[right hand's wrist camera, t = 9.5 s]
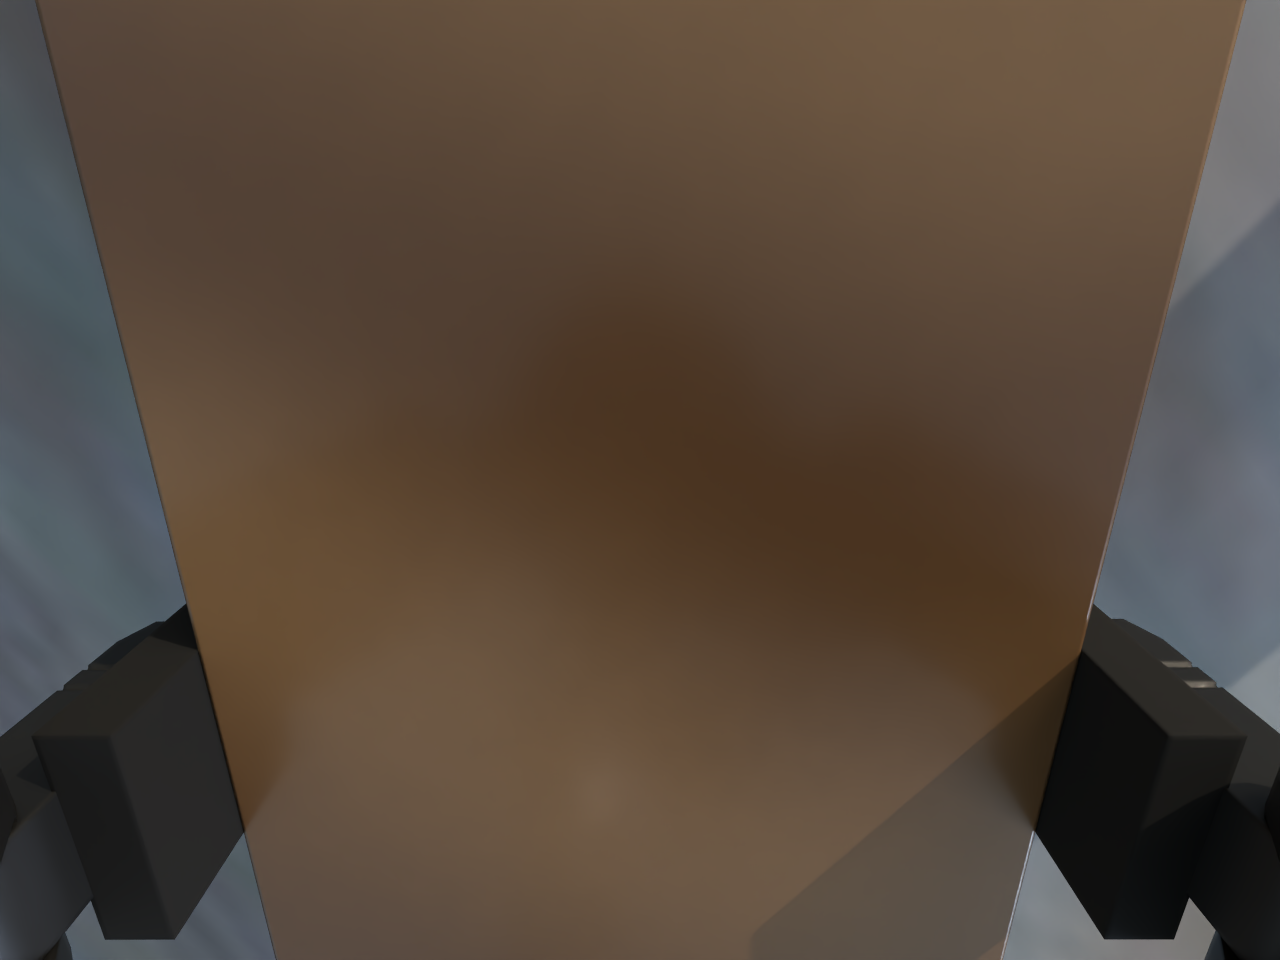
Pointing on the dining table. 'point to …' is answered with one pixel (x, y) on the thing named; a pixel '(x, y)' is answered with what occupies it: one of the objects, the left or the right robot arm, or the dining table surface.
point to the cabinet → (640, 439)
